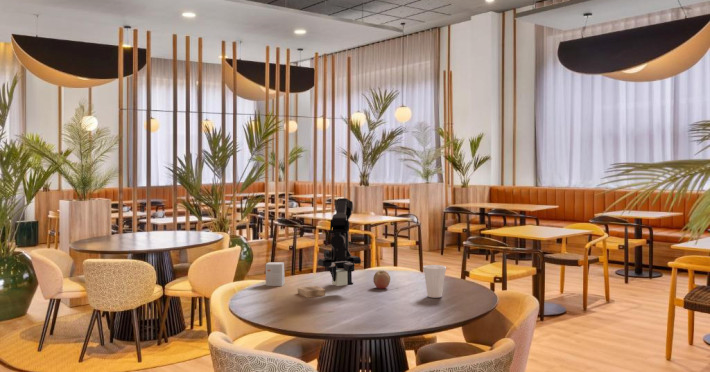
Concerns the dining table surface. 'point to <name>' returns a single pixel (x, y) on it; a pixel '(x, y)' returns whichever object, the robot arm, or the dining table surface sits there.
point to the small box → (275, 274)
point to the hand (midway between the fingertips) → (339, 280)
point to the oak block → (311, 291)
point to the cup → (434, 279)
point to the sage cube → (340, 278)
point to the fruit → (381, 279)
